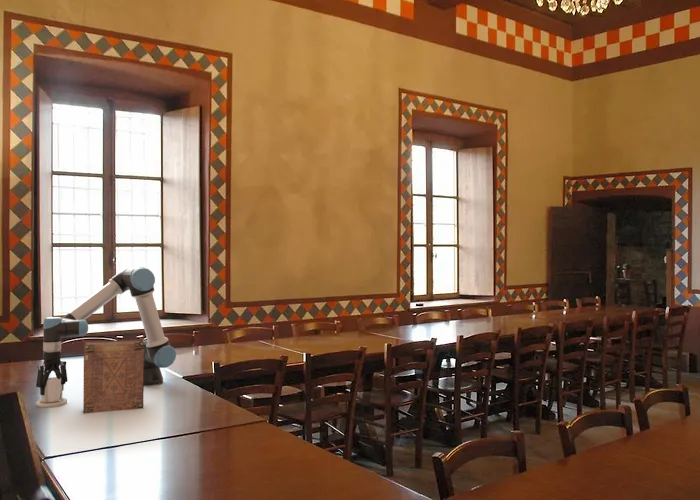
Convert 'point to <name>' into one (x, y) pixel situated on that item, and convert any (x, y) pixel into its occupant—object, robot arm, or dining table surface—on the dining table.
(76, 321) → the robot arm
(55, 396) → the white cup
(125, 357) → the book
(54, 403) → the beige saucer
